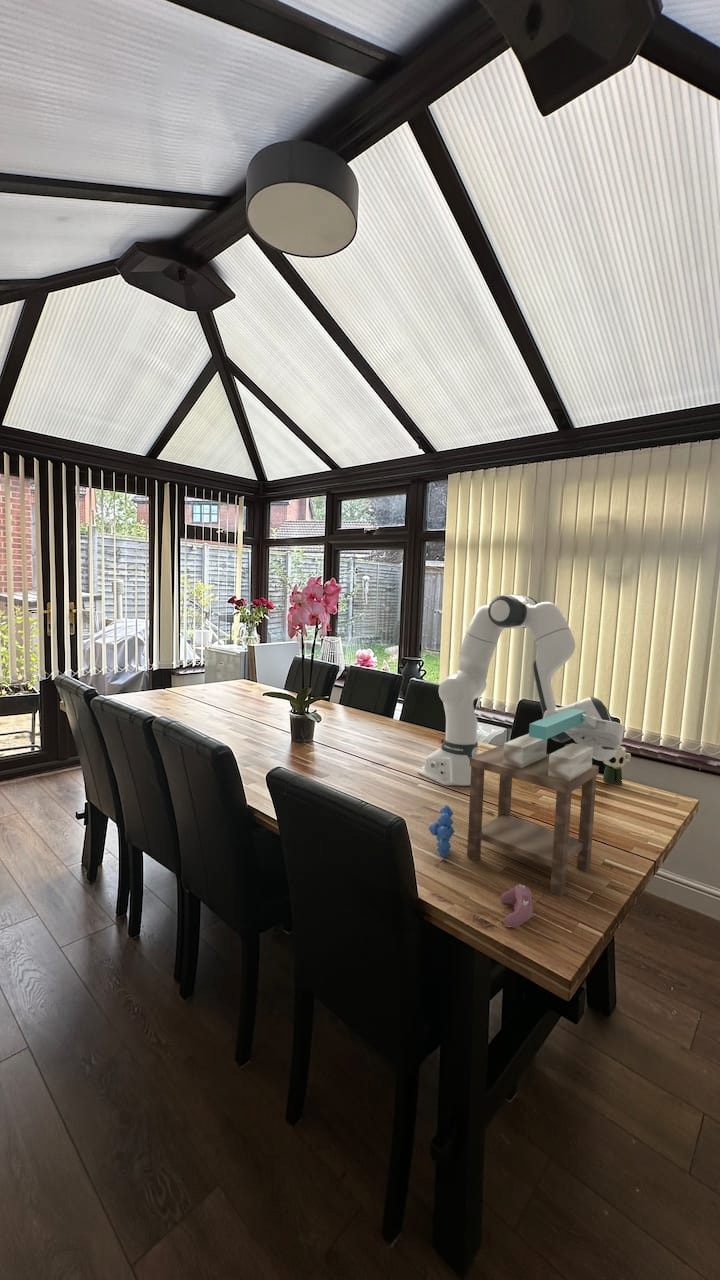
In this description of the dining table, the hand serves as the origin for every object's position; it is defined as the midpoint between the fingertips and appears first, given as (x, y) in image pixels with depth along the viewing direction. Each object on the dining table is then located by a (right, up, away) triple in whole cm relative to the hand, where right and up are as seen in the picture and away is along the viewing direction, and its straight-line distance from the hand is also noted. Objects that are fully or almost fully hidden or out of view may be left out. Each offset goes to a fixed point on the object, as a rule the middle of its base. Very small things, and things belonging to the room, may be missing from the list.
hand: (573, 715), depth 137 cm
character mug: (+36, -32, +53) cm, 71 cm away
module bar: (-6, -3, -6) cm, 9 cm away
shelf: (-13, -36, -4) cm, 39 cm away
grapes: (-34, -36, 0) cm, 50 cm away
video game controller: (-23, -39, -26) cm, 52 cm away
